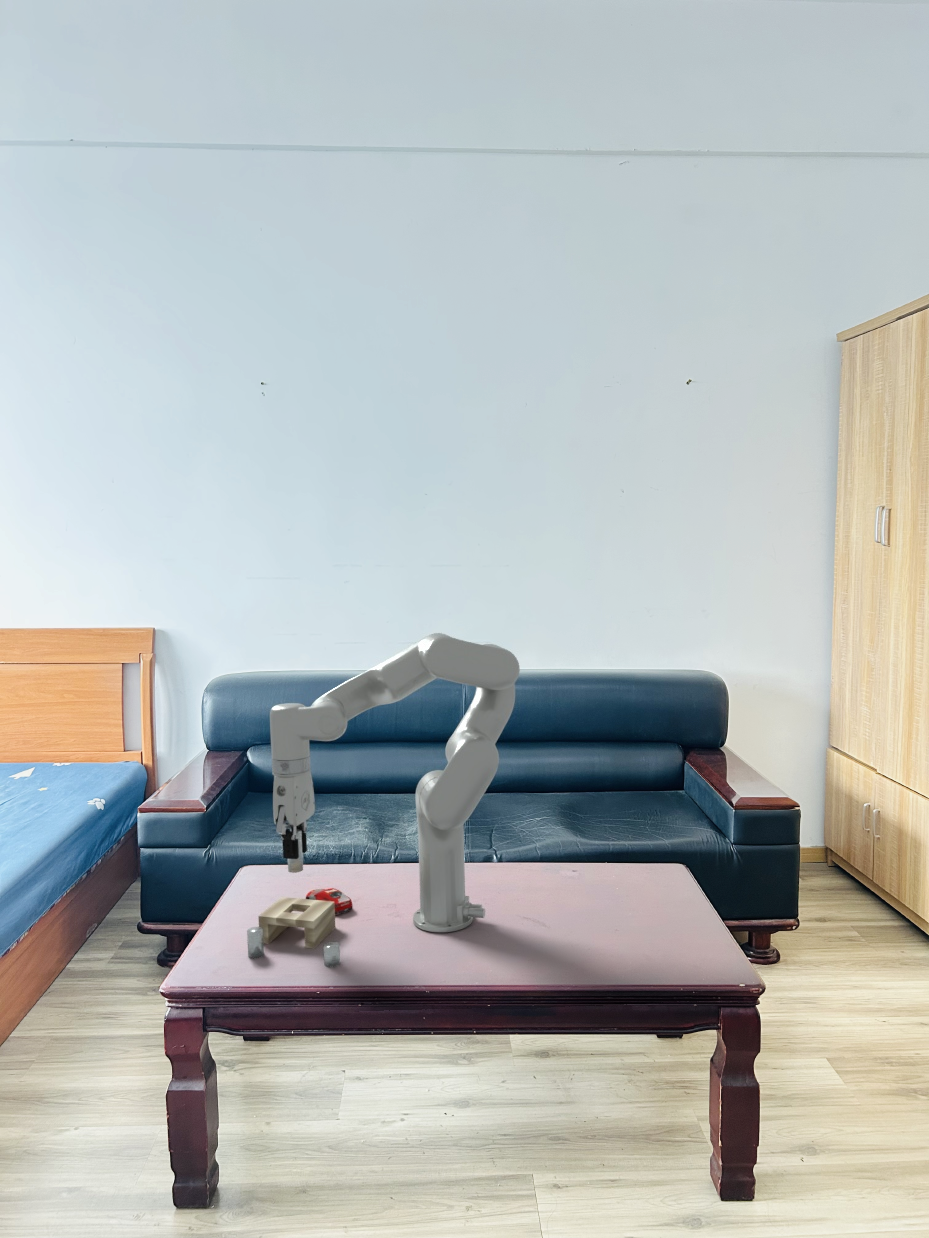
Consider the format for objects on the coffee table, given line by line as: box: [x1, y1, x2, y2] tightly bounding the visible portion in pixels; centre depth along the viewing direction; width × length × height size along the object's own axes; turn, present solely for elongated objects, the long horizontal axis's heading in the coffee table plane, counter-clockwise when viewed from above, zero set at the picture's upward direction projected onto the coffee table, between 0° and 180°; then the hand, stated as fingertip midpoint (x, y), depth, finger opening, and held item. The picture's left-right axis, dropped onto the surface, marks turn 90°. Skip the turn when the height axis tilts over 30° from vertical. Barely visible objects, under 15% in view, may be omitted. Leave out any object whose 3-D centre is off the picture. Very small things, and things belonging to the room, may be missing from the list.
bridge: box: [258, 896, 336, 949], centre depth 176 cm, size 12×10×6 cm
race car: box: [305, 887, 354, 916], centre depth 191 cm, size 13×5×4 cm, turn 43°
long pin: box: [287, 829, 304, 874], centre depth 175 cm, size 3×3×8 cm
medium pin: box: [246, 926, 265, 960], centre depth 168 cm, size 3×3×5 cm
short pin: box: [323, 941, 341, 968], centre depth 164 cm, size 3×3×4 cm
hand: (295, 854), depth 175 cm, fingers closed on long pin, 3 cm apart
